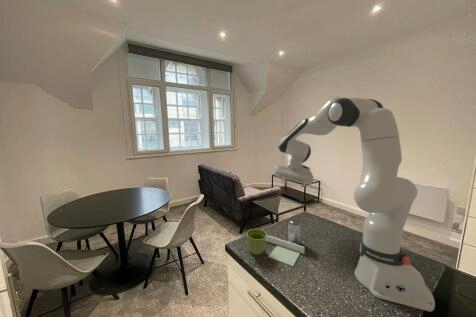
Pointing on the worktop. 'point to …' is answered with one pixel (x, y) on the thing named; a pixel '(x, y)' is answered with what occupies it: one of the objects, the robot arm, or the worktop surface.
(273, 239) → the wall
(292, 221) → the canister
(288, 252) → the pad
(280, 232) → the worktop surface
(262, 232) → the plant pot
